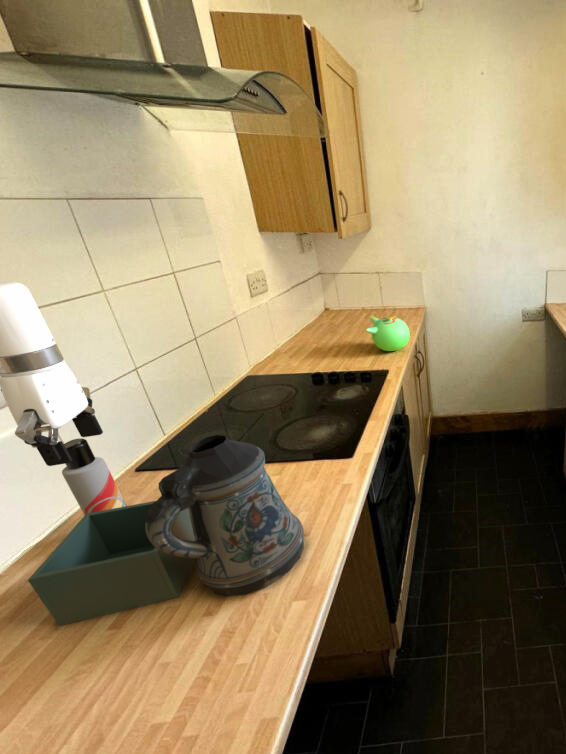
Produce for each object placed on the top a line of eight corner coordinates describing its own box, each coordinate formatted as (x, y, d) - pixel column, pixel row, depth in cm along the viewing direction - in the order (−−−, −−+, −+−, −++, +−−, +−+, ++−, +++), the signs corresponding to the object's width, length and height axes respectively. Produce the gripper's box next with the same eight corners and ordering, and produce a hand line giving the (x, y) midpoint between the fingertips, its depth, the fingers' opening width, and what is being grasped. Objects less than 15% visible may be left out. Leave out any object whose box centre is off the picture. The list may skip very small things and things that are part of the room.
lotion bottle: (127, 534, 81) (83, 446, 73) (90, 542, 79) (40, 453, 71) (138, 515, 86) (98, 431, 78) (104, 523, 84) (59, 437, 76)
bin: (58, 626, 63) (27, 579, 59) (109, 555, 76) (86, 513, 72) (178, 597, 68) (157, 552, 64) (207, 534, 80) (191, 494, 76)
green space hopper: (411, 354, 174) (407, 320, 168) (369, 358, 170) (364, 323, 165) (411, 341, 190) (407, 310, 184) (372, 344, 186) (367, 312, 181)
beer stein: (317, 521, 83) (288, 411, 73) (283, 607, 66) (238, 478, 56) (229, 531, 81) (187, 419, 71) (169, 622, 64) (101, 490, 54)
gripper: (36, 346, 74) (80, 429, 81) (-47, 383, 59) (16, 481, 66) (88, 341, 76) (126, 422, 83) (20, 376, 61) (74, 471, 68)
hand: (77, 448), depth 75 cm, fingers open, 9 cm apart
